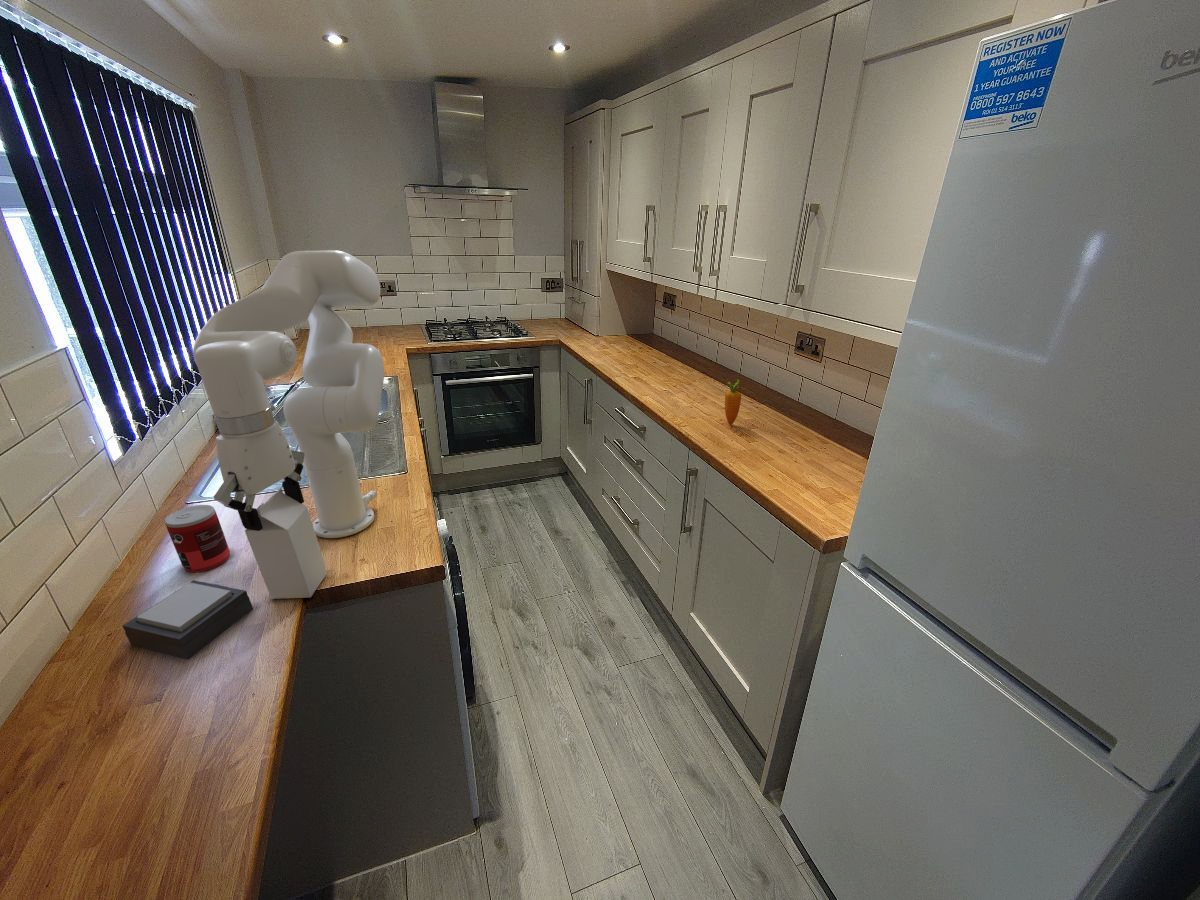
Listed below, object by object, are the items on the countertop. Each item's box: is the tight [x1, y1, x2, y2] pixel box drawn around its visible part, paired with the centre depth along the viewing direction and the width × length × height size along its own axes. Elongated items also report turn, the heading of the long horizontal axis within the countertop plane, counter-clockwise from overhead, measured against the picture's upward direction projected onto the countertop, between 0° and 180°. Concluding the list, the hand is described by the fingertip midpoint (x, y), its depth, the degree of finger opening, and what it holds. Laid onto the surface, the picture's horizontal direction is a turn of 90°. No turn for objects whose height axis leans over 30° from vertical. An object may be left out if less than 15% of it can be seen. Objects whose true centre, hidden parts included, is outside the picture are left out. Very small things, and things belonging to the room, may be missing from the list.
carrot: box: [724, 379, 742, 426], centre depth 167 cm, size 5×5×15 cm
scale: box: [122, 579, 254, 660], centre depth 87 cm, size 12×12×4 cm
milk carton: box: [244, 487, 328, 600], centre depth 93 cm, size 7×7×19 cm
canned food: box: [164, 504, 231, 573], centre depth 103 cm, size 8×8×11 cm
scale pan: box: [136, 582, 232, 633], centre depth 87 cm, size 9×9×2 cm
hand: (275, 514), depth 90 cm, fingers closed on milk carton, 8 cm apart
